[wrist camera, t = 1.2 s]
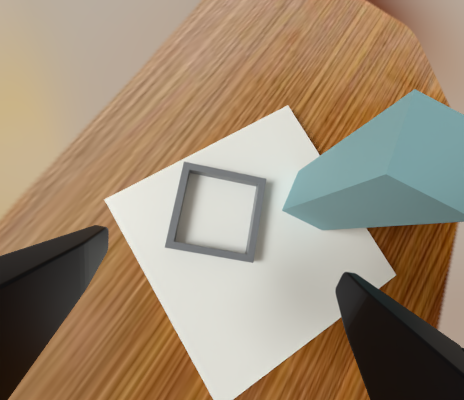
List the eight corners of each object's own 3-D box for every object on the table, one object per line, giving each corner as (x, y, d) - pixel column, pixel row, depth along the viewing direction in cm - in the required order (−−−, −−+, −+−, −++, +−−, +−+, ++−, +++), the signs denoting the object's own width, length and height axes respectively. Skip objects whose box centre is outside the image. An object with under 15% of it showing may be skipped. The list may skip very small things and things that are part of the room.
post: (322, 230, 22) (477, 220, 10) (281, 210, 22) (386, 174, 10) (337, 190, 23) (498, 133, 11) (298, 171, 23) (415, 89, 10)
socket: (250, 261, 21) (253, 263, 20) (166, 246, 21) (164, 247, 19) (263, 181, 23) (266, 178, 21) (185, 165, 22) (183, 161, 21)
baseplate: (388, 273, 24) (396, 275, 23) (218, 401, 20) (219, 410, 19) (284, 110, 25) (288, 105, 24) (108, 201, 21) (104, 199, 21)
